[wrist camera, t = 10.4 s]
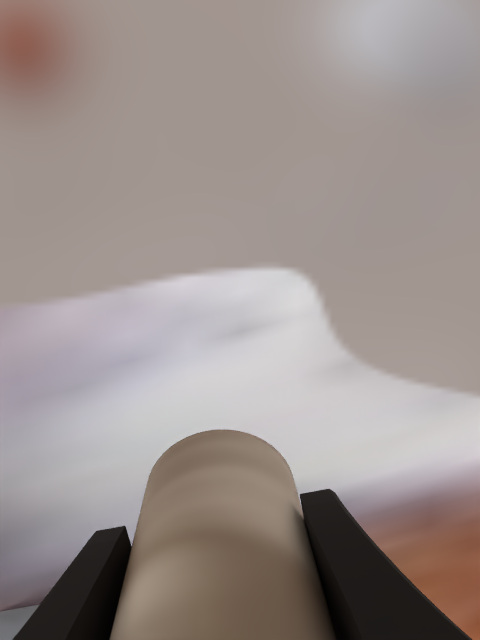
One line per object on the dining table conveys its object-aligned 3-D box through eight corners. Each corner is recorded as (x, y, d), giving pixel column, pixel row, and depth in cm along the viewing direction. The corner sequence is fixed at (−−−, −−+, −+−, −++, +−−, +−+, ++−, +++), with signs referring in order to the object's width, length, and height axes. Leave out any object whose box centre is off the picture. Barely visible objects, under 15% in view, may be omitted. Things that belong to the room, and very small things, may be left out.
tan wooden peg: (164, 567, 11) (83, 1144, 4) (129, 445, 10) (-45, 949, 3) (303, 542, 11) (438, 1079, 4) (283, 416, 10) (418, 867, 3)
